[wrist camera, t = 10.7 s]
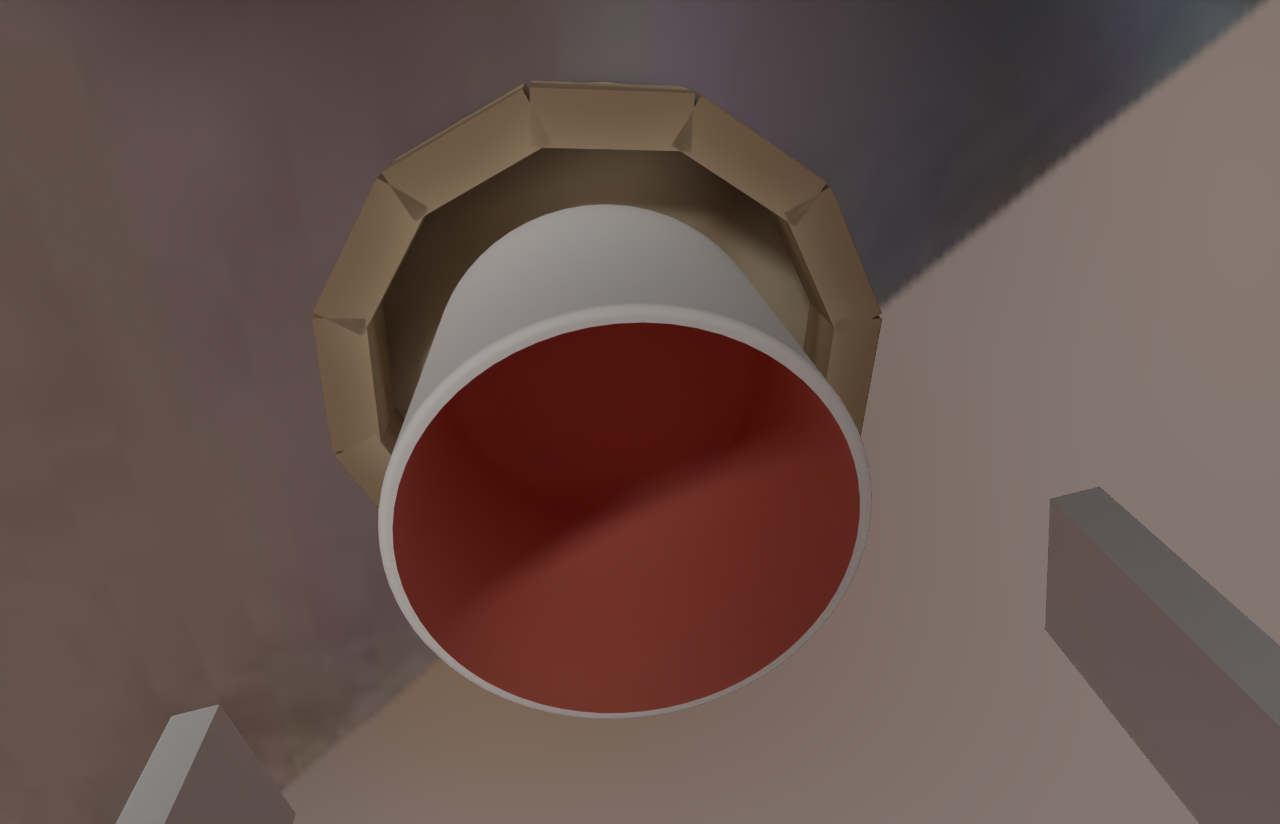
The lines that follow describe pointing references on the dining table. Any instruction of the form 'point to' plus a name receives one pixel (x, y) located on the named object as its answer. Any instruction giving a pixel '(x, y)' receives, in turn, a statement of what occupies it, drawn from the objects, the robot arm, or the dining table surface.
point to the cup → (619, 474)
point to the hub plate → (565, 178)
